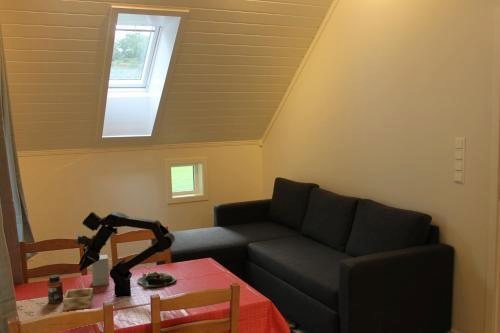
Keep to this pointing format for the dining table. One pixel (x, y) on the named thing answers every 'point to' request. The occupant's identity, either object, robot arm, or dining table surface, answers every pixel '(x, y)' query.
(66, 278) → the dining table surface
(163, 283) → the salad plate
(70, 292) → the crate
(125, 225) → the robot arm
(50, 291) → the supplement bottle
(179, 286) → the dining table surface
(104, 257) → the supplement box
